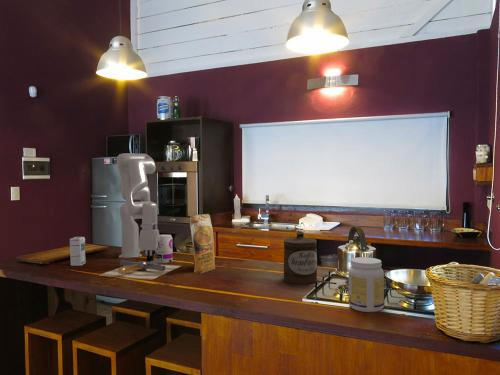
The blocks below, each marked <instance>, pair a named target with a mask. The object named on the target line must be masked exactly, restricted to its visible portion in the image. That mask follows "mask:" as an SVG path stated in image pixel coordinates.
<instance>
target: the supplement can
mask: <svg viewBox="0 0 500 375" xmlns="http://www.w3.org/2000/svg"><path fill="white" fill-rule="evenodd" d="M159 235H160V248H159V249H160V252H156V259H158V258H163V262H161V263H160V264H164V263H172V262H173V258H174V256H173V237H172V234H159Z"/></svg>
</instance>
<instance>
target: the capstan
mask: <svg viewBox="0 0 500 375" xmlns="http://www.w3.org/2000/svg"><path fill="white" fill-rule="evenodd" d="M161 262H163V258H158V259H157V258H155V259H154V260H150V261H147V260H139V261H132V260H124V259H121V260H119V265H120V266H121V267H122V268H120V267H118V268H119V269H118V274H124V273H126V272H130V271H133V270H138V271H143V270H147V269H152V270H159V271H165V266H161V265H154V264H162V263H161ZM123 266H128V267H123Z"/></svg>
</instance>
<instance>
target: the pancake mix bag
mask: <svg viewBox="0 0 500 375" xmlns="http://www.w3.org/2000/svg"><path fill="white" fill-rule="evenodd" d="M189 229H190V240H191V243H192V244H191V245H192V247H193V249H192V250H193V273H196V272H198V273H197V274H198V275H200V274H204V273H208V272H210V271H213V270H215V269H216V264H215V260H216V259H215V239H214V230H213V225H212V219H211V215H210V213H204V214H194V215H191V216H190V217H189Z"/></svg>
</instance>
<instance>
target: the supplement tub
mask: <svg viewBox="0 0 500 375" xmlns="http://www.w3.org/2000/svg"><path fill="white" fill-rule="evenodd" d="M350 265H351V266H350V267H349V269H348V306H349V307H350V306H351V307H352V308H351V307H350V308H351V309H353V310H354V311H357V312H363V313H376V312H380V311H382V310H383V309H384V308H385V272H384V270H383V268H382V266H383V264H382V260H381V259H378V258H374V257H366V256H365V257H363V256H360V257H352V258H351V259H350ZM382 308H383V309H382ZM381 309H382V310H381ZM379 310H380V311H379Z"/></svg>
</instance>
